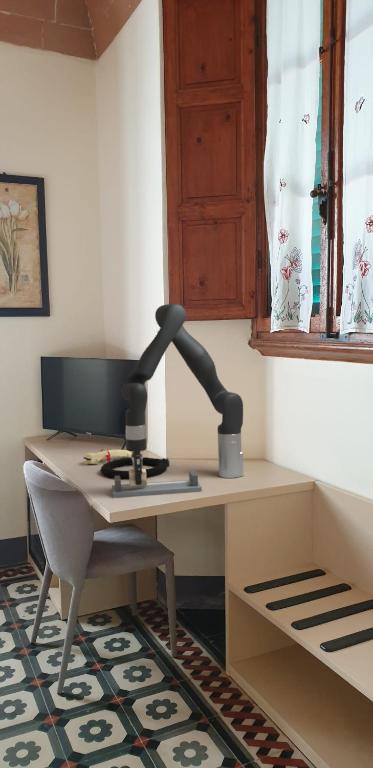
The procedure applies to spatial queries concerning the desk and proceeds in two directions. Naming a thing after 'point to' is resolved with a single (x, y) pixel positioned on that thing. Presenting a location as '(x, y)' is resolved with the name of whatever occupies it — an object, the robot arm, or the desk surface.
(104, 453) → the cat figure
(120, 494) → the rail board
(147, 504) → the desk surface
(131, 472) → the keeper
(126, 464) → the cable lock
